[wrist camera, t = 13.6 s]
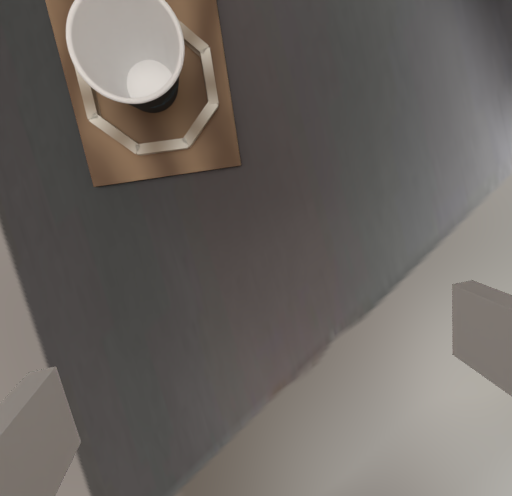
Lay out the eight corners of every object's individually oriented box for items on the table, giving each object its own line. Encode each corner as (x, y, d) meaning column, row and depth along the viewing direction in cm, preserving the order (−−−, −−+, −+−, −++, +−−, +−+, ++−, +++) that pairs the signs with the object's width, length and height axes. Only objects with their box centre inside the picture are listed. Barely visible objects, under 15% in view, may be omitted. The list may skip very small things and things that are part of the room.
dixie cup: (188, 133, 34) (179, 111, 24) (109, 121, 33) (63, 92, 22) (194, 53, 33) (189, -9, 22) (113, 36, 31) (65, -37, 21)
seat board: (212, -13, 33) (213, -29, 30) (240, 165, 37) (242, 164, 34) (49, 0, 31) (35, -16, 28) (97, 186, 35) (89, 187, 33)
